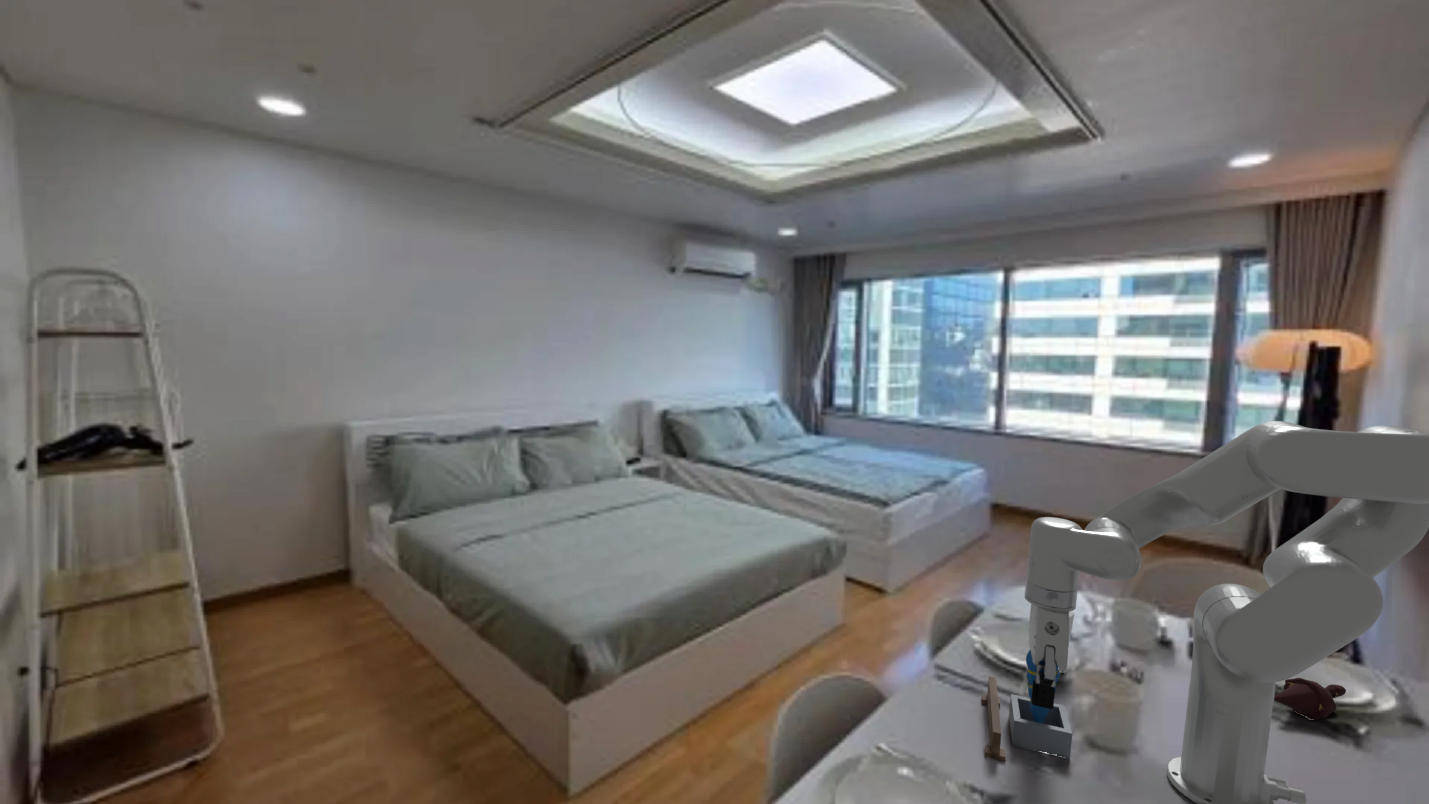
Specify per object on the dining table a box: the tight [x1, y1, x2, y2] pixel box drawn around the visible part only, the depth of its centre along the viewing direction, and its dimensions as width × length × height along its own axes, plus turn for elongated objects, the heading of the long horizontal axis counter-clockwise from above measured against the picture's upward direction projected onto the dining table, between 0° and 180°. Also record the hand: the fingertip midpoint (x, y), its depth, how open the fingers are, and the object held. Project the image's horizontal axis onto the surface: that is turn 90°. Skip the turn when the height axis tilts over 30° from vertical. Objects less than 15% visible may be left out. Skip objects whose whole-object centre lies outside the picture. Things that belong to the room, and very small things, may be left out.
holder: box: [1008, 693, 1073, 761], centre depth 105 cm, size 8×8×4 cm
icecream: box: [1274, 677, 1347, 721], centre depth 114 cm, size 7×7×15 cm
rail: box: [981, 675, 1007, 763], centre depth 108 cm, size 3×18×4 cm, turn 158°
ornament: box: [1025, 649, 1061, 723], centre depth 104 cm, size 5×5×15 cm
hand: (1040, 696), depth 105 cm, fingers closed on ornament, 4 cm apart
